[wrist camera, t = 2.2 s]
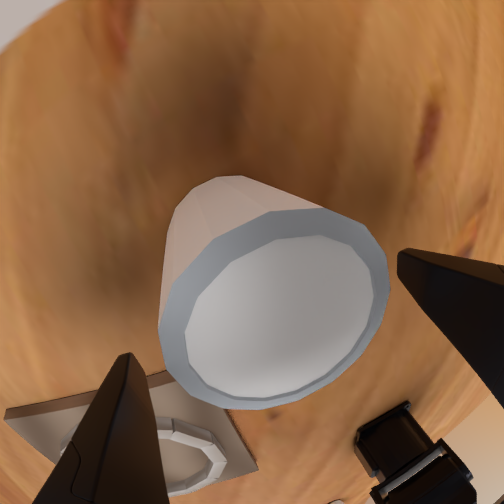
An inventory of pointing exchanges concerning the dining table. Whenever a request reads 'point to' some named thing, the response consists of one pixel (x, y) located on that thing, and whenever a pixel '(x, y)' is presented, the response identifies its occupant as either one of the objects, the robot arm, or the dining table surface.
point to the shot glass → (265, 294)
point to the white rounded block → (337, 502)
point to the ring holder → (168, 427)
